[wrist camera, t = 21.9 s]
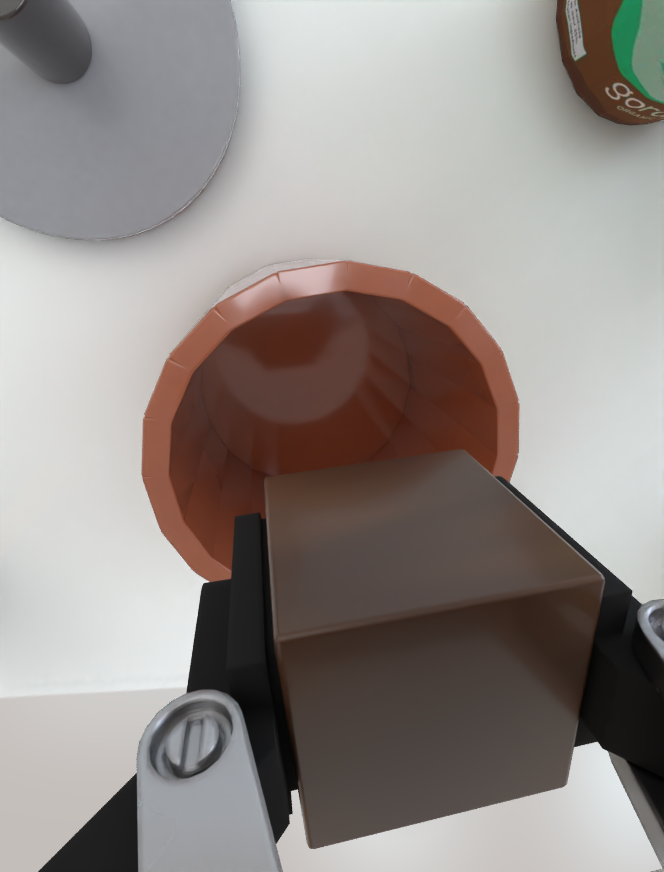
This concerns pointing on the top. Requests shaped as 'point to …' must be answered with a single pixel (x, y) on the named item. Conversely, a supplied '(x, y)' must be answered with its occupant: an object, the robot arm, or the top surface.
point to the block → (422, 641)
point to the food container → (615, 56)
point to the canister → (315, 393)
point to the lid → (112, 111)
